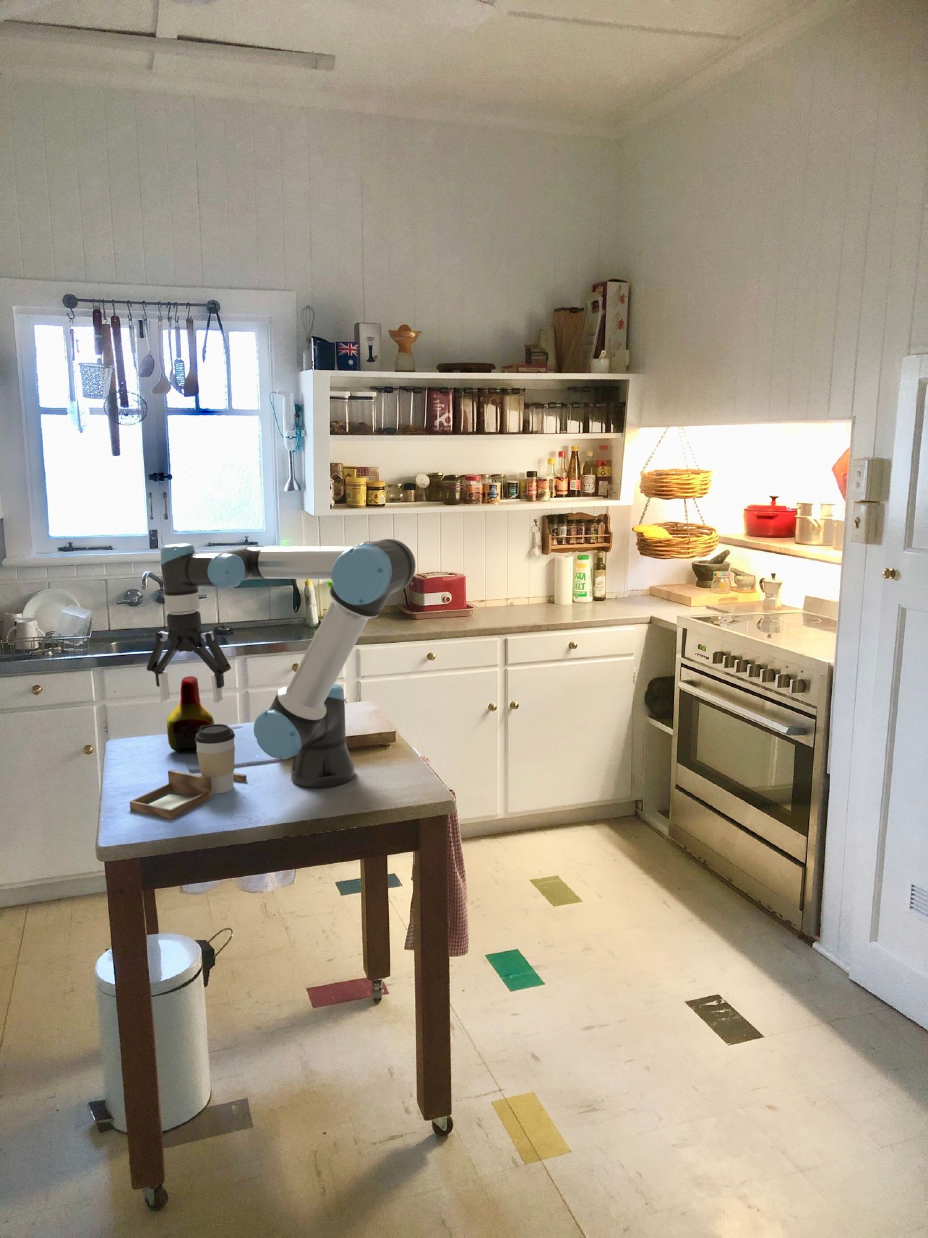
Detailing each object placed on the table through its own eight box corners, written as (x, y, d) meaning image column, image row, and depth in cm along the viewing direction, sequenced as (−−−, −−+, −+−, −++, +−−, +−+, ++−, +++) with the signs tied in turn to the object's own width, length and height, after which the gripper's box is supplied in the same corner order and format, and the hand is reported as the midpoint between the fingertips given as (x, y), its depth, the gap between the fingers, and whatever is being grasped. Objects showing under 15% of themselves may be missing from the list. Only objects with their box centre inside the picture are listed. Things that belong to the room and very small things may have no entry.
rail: (246, 780, 227) (246, 775, 226) (243, 782, 226) (243, 776, 225) (207, 773, 232) (207, 767, 232) (205, 774, 231) (204, 768, 231)
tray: (212, 798, 216) (210, 777, 215) (171, 819, 205) (169, 797, 204) (172, 790, 221) (170, 769, 220) (130, 810, 210) (128, 788, 209)
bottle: (218, 746, 251) (213, 673, 247) (211, 755, 245) (206, 680, 241) (173, 747, 251) (168, 674, 247) (165, 755, 245) (159, 680, 241)
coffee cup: (244, 782, 226) (241, 722, 223) (227, 797, 217) (223, 734, 214) (210, 779, 228) (205, 719, 225) (191, 794, 219) (186, 731, 216)
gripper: (240, 608, 219) (247, 697, 223) (143, 608, 225) (152, 694, 229) (225, 614, 212) (233, 706, 216) (125, 614, 217) (135, 703, 221)
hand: (191, 700), depth 222 cm, fingers open, 13 cm apart
